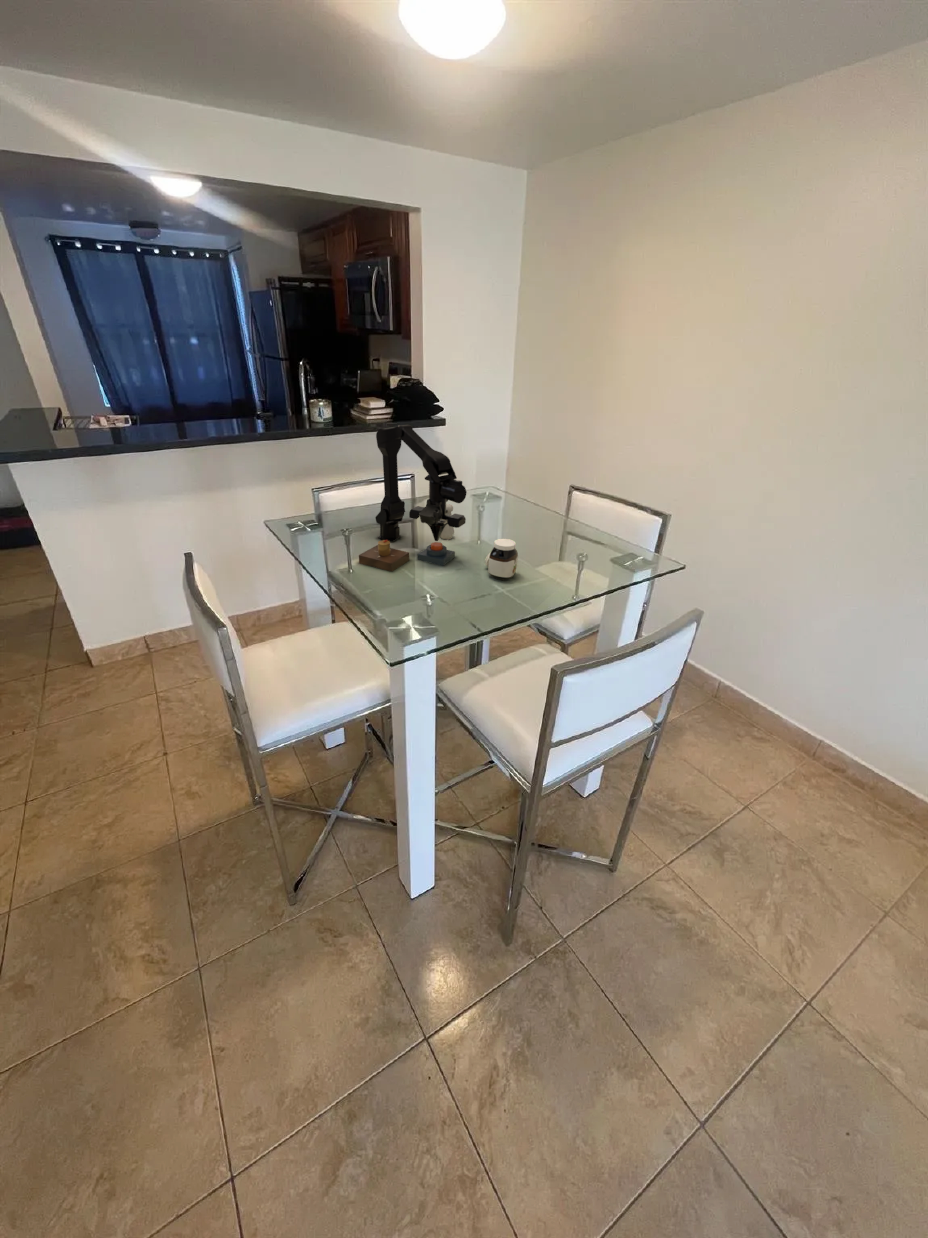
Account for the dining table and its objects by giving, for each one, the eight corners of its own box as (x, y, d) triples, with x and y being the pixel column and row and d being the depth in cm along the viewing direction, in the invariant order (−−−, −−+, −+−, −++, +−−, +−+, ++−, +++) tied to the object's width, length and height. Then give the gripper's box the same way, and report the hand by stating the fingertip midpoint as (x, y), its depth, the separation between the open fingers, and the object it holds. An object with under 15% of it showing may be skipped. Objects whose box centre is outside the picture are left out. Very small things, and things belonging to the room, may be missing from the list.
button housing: (417, 559, 176) (417, 549, 174) (430, 551, 183) (430, 541, 181) (442, 566, 172) (443, 555, 171) (454, 557, 180) (455, 546, 178)
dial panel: (359, 563, 171) (358, 554, 170) (377, 552, 180) (377, 544, 178) (391, 571, 166) (391, 562, 165) (409, 560, 175) (409, 551, 174)
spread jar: (505, 584, 162) (508, 550, 157) (474, 575, 167) (476, 541, 162) (521, 571, 171) (525, 539, 166) (492, 563, 176) (495, 531, 171)
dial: (386, 556, 169) (385, 544, 167) (376, 554, 171) (375, 542, 169) (392, 552, 173) (392, 540, 170) (382, 550, 174) (382, 538, 172)
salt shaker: (451, 541, 193) (453, 507, 187) (437, 539, 194) (438, 506, 188) (455, 536, 198) (456, 503, 192) (440, 534, 199) (441, 501, 193)
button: (428, 549, 175) (428, 544, 174) (434, 545, 178) (434, 541, 178) (438, 551, 174) (439, 547, 173) (444, 548, 177) (444, 543, 176)
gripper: (400, 496, 164) (400, 542, 172) (451, 507, 157) (450, 554, 165) (417, 489, 173) (417, 532, 180) (467, 498, 166) (465, 543, 174)
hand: (436, 540), depth 175 cm, fingers closed
